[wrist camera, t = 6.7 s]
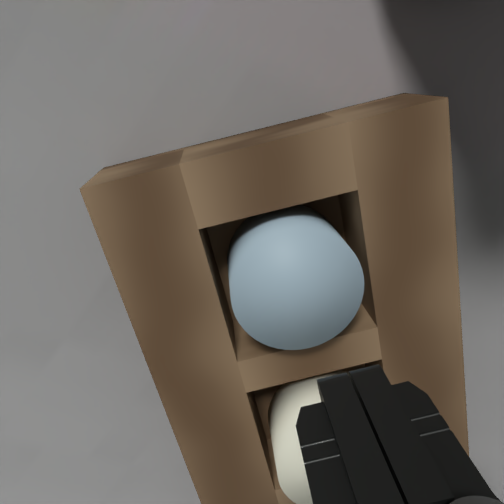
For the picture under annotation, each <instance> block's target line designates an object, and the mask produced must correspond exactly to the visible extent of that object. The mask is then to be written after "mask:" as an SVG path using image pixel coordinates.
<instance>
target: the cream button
mask: <svg viewBox="0 0 504 504" xmlns="http://www.w3.org/2000/svg"><path fill="white" fill-rule="evenodd" d="M345 372H347V371H344V370H336V371H332V372H328V373H324V374H320V375H316V376H312V377H308V378H304V379H300V380H296V381H292V382H288V383H284V384H283V385H282V386H281V387H280V388H279V389H278V390H277V391H276V393H275V394H274V396H273V398H272V400H271V402H270V405H269V408H268V423H269V429H270V435H271V441H272V446H273V452H274V458H275V464H276V470H277V476H278V481H279V484H280V487H281V489H282V490H283V492H284V493H285V495H286V496H287V497H288V498H289V499H290V500H292V501H293V502H294V503H296V504H313V502H312V497H311V493H310V488H309V484H308V479H307V475H306V470H305V465H304V461H303V457H302V452H301V448H300V443H299V439H298V434H297V430H296V422H297V419H298V415H299V412H300V408H301V407H303V406H307V405H312V404H316V403H320V402H321V399H320V394H319V390H318V385H317V379H321V378H325V377H329V376H333V375H337V374H341V373H345ZM347 374H348V372H347Z"/></svg>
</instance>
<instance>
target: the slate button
mask: <svg viewBox="0 0 504 504" xmlns="http://www.w3.org/2000/svg"><path fill="white" fill-rule="evenodd" d="M227 266H228V277H229V287H230V298H231V304H232V309H233V312H234V315H235V317H236V319H237V321H238V322H239V324H240V325H241V327H242V328H243V329H244V330H245V331H246V332H247V333H248V334H249V335H250V336H251V337H253V338H254V339H255V340H257V341H259V342H260V343H262V344H265V345H267V346H270V347H273V348H277V349H283V350H301V349H307V348H311V347H314V346H318V345H320V344H322V343H325V342H327V341H328V340H330V339H332V338H334V337H335V336H336V335H338V334H339V333H340V332H341V331H343V330H344V329H345V328H346V327H347V326H348V324H349V323H350V322H351V321H352V319H353V318H354V316H355V315H356V313H357V311H358V309H359V307H360V304H361V302H362V298H363V293H364V275H363V270H362V267H361V264H360V262H359V260H358V258H357V256H356V255H355V253H354V252H353V251H352V249H351V248H350V247H349V246H348V244H347V243H346V242H345V241H344V240H343V238H342V237H341V236H340V235H339V233H338V232H337V231H336V230H335V229H334V227H333V226H332V225H331V224H330V222H329V221H328V220H327V219H326V218H325V217H324V216H323V215H321V214H320V213H318V212H317V211H315V210H313V209H311V208H309V207H306V206H303V205H295V206H291V207H287V208H283V209H279V210H275V211H271V212H267V213H263V214H259V215H255V216H251V217H248V218H247V219H246V220H245V221H244V222H243V223H242V224H241V225H240V226H239V227H238V229H237V230H236V232H235V233H234V235H233V237H232V239H231V242H230V244H229V248H228V254H227Z"/></svg>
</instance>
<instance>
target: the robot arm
mask: <svg viewBox="0 0 504 504" xmlns="http://www.w3.org/2000/svg"><path fill="white" fill-rule="evenodd" d="M317 385H318V390H319V394H320V399H321V402H320V403H316V404H312V405H307V406H303V407H301V408H300V412H299V415H298V419H297V422H296V430H297V434H298V439H299V443H300V448H301V452H302V457H303V461H304V465H305V470H306V475H307V479H308V484H309V488H310V493H311V497H312V502H313V504H504V503H503V502H501V501H500V500H499V499H498V498H497V497H496V496H495V495H494V493H493V492H492V491H491V489H490V488H489V487H488V485H487V483H486V482H485V480H484V479H483V477H482V476H481V474H480V473H479V471H478V470H477V468H476V467H475V465H474V464H473V462H472V461H471V459H470V458H469V456H468V455H467V453H466V452H465V450H464V449H463V447H462V446H461V444H460V443H459V441H458V439H457V438H456V436H455V435H454V433H453V432H452V430H451V431H450V429H449V426H448V424H447V423H446V421H445V420H444V418H443V417H442V415H440V413H439V411H438V409H437V408H436V406H435V405H434V403H433V402H432V400H431V399H430V397H429V396H428V394H427V393H425V392H424V391H423V390H421V389H420V388H418V387H417V386H415V385H414V384H412V383H411V382H409V381H406V382H402V383H398V384H394V385H391V383H390V382H389V380H388V378H387V376H386V375H385V373H384V371H383V369H382V368H381V366H380V365H379V364H378V365H373V366H369V367H365V368H361V369H357V370H353V371H349V372H348V374H347V372H345V373H341V374H337V375H333V376H329V377H325V378H321V379H317Z"/></svg>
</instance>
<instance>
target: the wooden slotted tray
mask: <svg viewBox="0 0 504 504" xmlns="http://www.w3.org/2000/svg"><path fill="white" fill-rule="evenodd" d="M80 192H81V194H82V197H83V199H84V202H85V205H86V207H87V210H88V212H89V215H90V217H91V220H92V223H93V225H94V228H95V230H96V233H97V235H98V238H99V241H100V243H101V246H102V248H103V251H104V254H105V256H106V259H107V261H108V264H109V266H110V269H111V272H112V274H113V277H114V279H115V282H116V285H117V287H118V290H119V292H120V295H121V297H122V300H123V303H124V305H125V308H126V310H127V313H128V316H129V318H130V321H131V323H132V326H133V328H134V331H135V334H136V336H137V339H138V341H139V344H140V347H141V349H142V352H143V354H144V357H145V359H146V362H147V365H148V367H149V370H150V372H151V375H152V378H153V380H154V383H155V385H156V388H157V390H158V393H159V396H160V398H161V401H162V403H163V406H164V408H165V411H166V414H167V416H168V419H169V421H170V424H171V427H172V429H173V432H174V434H175V437H176V439H177V442H178V445H179V447H180V450H181V452H182V455H183V458H184V460H185V463H186V465H187V468H188V470H189V473H190V476H191V478H192V481H193V483H194V486H195V489H196V491H197V494H198V496H199V499H200V501H201V504H296V503H294V502H293V501H292V500H290V499H289V498H288V497H287V496H286V495H285V493H284V492H283V490H282V489H281V487H280V484H279V481H278V476H277V470H276V464H275V458H274V452H273V446H272V441H271V435H270V429H269V423H268V408H269V405H270V402H271V400H272V398H273V396H274V394H275V393H276V391H277V390H278V389H279V388H280V387H281V386H282V385H283V384H284V383H288V382H292V381H296V380H300V379H304V378H308V377H312V376H316V375H320V374H324V373H328V372H332V371H336V370H344V371H347V372H349V371H353V370H357V369H361V368H365V367H369V366H373V365H378V364H379V365H380V366H381V368H382V369H383V371H384V373H385V375H386V376H387V378H388V380H389V382H390V383H391V385H394V384H398V383H402V382H406V381H409V382H411V383H412V384H414V385H415V386H417V387H418V388H420V389H421V390H423V391H424V392H425V393H427V394H428V396H429V397H430V399H431V400H432V402H433V403H434V405H435V406H436V408H437V409H438V411H439V413H440V415H442V417H443V418H444V420H445V421H446V423H447V424H448V426H449V429H450V431H451V430H452V432H453V433H454V435H455V436H456V438H457V439H458V441H459V443H460V444H461V446H462V447H463V449H464V450H465V452H466V453H467V455H468V456H469V447H468V430H467V413H466V396H465V378H464V361H463V344H462V327H461V310H460V292H459V275H458V258H457V241H456V224H455V206H454V189H453V172H452V155H451V138H450V121H449V103H448V97H440V96H430V95H419V94H408V93H402V94H398V95H394V96H390V97H386V98H382V99H378V100H374V101H370V102H366V103H362V104H358V105H354V106H350V107H346V108H342V109H338V110H334V111H330V112H326V113H322V114H318V115H314V116H310V117H306V118H302V119H298V120H294V121H290V122H286V123H282V124H278V125H274V126H269V127H265V128H261V129H257V130H253V131H249V132H245V133H241V134H237V135H233V136H229V137H225V138H221V139H217V140H213V141H209V142H205V143H201V144H197V145H193V146H189V147H185V148H181V149H177V150H173V151H169V152H165V153H161V154H157V155H153V156H149V157H145V158H141V159H137V160H133V161H129V162H125V163H121V164H117V165H113V166H109V167H105V168H103V169H102V170H101V171H99V172H98V173H97V174H96V175H95V176H94V177H93V178H91V179H90V180H89V181H88V182H87V183H86V184H85V185H83V186H82V187H81V188H80ZM295 205H303V206H306V207H309V208H311V209H313V210H315V211H317V212H318V213H320V214H321V215H323V216H324V217H325V218H326V219H327V220H328V221H329V222H330V224H331V225H332V226H333V227H334V229H335V230H336V231H337V232H338V233H339V235H340V236H341V237H342V238H343V240H344V241H345V242H346V243H347V244H348V246H349V247H350V248H351V249H352V251H353V252H354V253H355V255H356V256H357V258H358V260H359V262H360V264H361V267H362V270H363V275H364V293H363V298H362V302H361V304H360V307H359V309H358V311H357V313H356V315H355V316H354V318H353V319H352V321H351V322H350V323H349V324H348V326H347V327H346V328H345V329H344V330H343V331H341V332H340V333H339V334H338V335H336V336H335V337H334V338H332V339H330V340H328V341H327V342H325V343H322V344H320V345H318V346H314V347H311V348H307V349H301V350H283V349H277V348H273V347H270V346H267V345H265V344H262V343H260V342H259V341H257V340H255V339H254V338H253V337H251V336H250V335H249V334H248V333H247V332H246V331H245V330H244V329H243V328H242V327H241V325H240V324H239V322H238V321H237V319H236V317H235V315H234V312H233V309H232V304H231V298H230V287H229V277H228V266H227V254H228V248H229V244H230V242H231V239H232V237H233V235H234V233H235V232H236V230H237V229H238V227H239V226H240V225H241V224H242V223H243V222H244V221H245V220H246V219H247V218H248V217H251V216H255V215H259V214H263V213H267V212H271V211H275V210H279V209H283V208H287V207H291V206H295Z"/></svg>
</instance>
